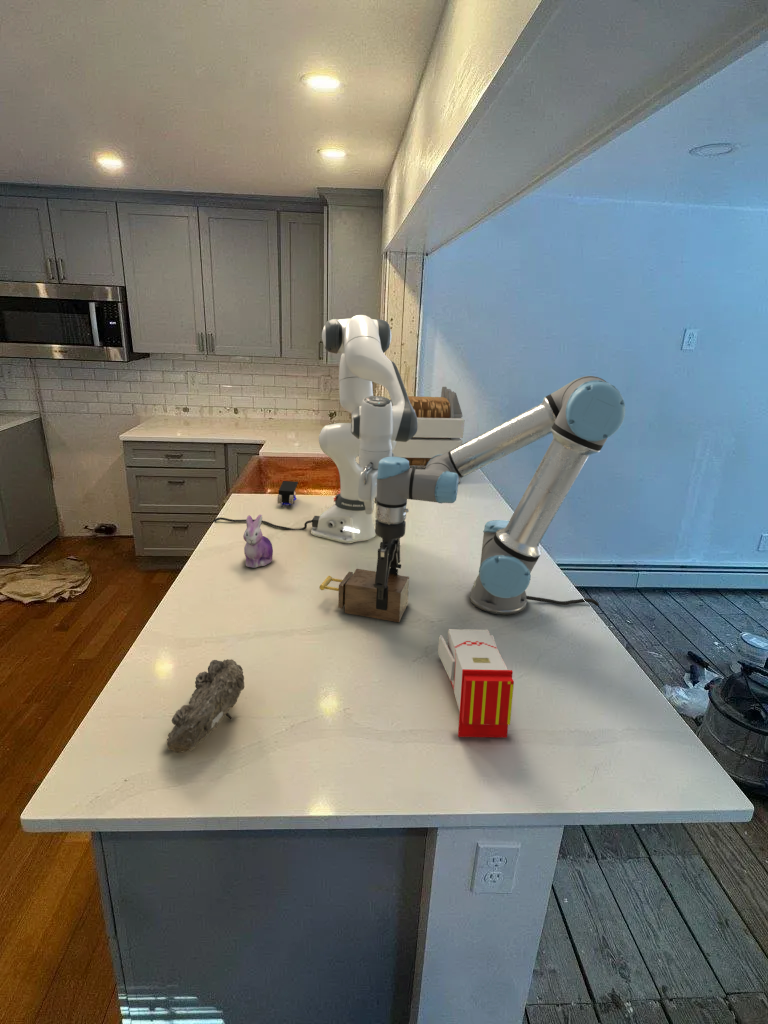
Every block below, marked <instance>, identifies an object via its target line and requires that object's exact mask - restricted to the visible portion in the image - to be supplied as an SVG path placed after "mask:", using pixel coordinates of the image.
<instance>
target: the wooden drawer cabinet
mask: <svg viewBox="0 0 768 1024" xmlns="http://www.w3.org/2000/svg"><path fill="white" fill-rule="evenodd" d="M375 578H376V570H375V571H374V570H368V569H361V568H356V569H355V570H354V571H353V575H352V576H351V577H350V579H349V580H348V581H347V583H346V584H345V606H344V614H349V615H354V616H359V617H360V616H361V617H366V618H371V619H378V620H382V621H389V622H395V623H400V622H401V619H402V618H403V615H404V613H405V611H406V608H407V607H408V602H409V601H408V600H409V588H410V587H409V585H410V576H406V575H402V574H401V575H400V574H398V575H394V574H389V576H388V582H387V586H388V600H387V610H380V609H376V596H377V588H375V587H374V586H373V585H374V584H375Z"/></svg>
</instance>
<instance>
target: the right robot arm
mask: <svg viewBox="0 0 768 1024" xmlns="http://www.w3.org/2000/svg"><path fill="white" fill-rule="evenodd" d="M625 416H626V403H625V400H624V397H623V395H622V393H621V391H619V389H618V388H617V387H616V386H615V385H613V384H612V383H609V382H608V381H606V380H605V379H603V378H602V377H599V376H595V375H584V376H581V377H579V378H576V379H573V380H572V381H570V382H568V383H567V384H565V385H564V386H562V387H560V388H559V389H557V390H555V391H553V392H551V393H550V394H548V395H546V396H544V397H543V400H542V402H541V403H540V404H538V405H536V406H534V407H532V408H530V409H528V410H526V411H524V412H522V413H520V414H518V415H516V416H514V417H513V418H511V419H508V420H507V421H505V422H502V423H501V424H499V425H497V426H495V427H492V428H491V429H488V430H487V431H485V432H483V433H481V434H480V435H478V436H476V437H473V438H472V439H469V440H468V441H466V442H464V443H462V445H460V446H458V447H456V448H454V449H452V450H451V451H449V452H446V453H444V454H439V455H436V456H434V457H432V458H431V459H430V460H429V462H428V463H427V465H426V466H425V467H424V468H423V469H422V468H413V467H410V466H409V461H408V460H407V459H405V458H400V457H385V458H383V459H381V460H380V461H379V465H378V475H377V500H376V504H375V523H374V528H375V533H376V535H375V536H377V537H379V538H380V539H382V540H381V541H380V544H379V548H377V561H376V570H375V572H376V578H375V584H374V585H373V586H374V587H375V588H377V596H376V609H380V610H387V600H388V586H387V582H388V576H389V574H394V575H399V569H401V568H402V564H401V538H403V537H404V536H405V534H406V524H407V522H406V519H407V513H409V508H407V504H408V500H413V501H419V502H420V501H421V502H429V503H438V504H454V503H455V502H456V501H457V497H458V490H459V483H458V481H459V479H460V480H461V479H462V478H463V477H465V476H467V475H469V474H472V473H473V472H476V471H477V470H480V469H482V468H483V467H485V466H488V465H490V464H491V463H494V462H496V461H497V460H500V459H502V458H504V457H506V456H508V455H510V454H513V453H514V452H516V451H519V450H520V449H523V448H524V447H526V446H529V445H530V444H532V443H534V442H536V441H539V440H541V439H543V438H545V437H547V436H549V435H551V434H552V441H551V442H550V444H549V446H548V447H547V450H546V451H545V453H544V455H543V457H542V459H541V460H540V463H539V464H538V466H537V468H536V470H535V472H534V474H533V475H532V478H531V479H530V481H529V483H528V485H527V487H526V489H525V491H524V493H523V495H522V497H521V498H520V500H519V502H518V504H517V506H516V508H515V509H514V512H513V513H512V515H511V518H510V519H509V520H505V519H495V520H494V519H493V520H489V521H487V522H485V523H484V527H483V531H482V532H483V536H482V544H481V545H482V546H481V554H480V564H479V569H478V575H477V577H476V578H475V580H474V581H473V584H472V586H471V589H470V592H469V593H470V594H469V601H470V602H471V603H472V605H473V606H474V607H476V608H477V609H479V610H481V611H484V612H486V613H491V614H494V615H501V616H503V615H504V616H509V615H515V614H519V613H521V612H523V611H524V610H525V609H526V607H527V601H535V602H542V603H549V604H554V605H557V606H567V605H573V604H574V605H575V604H581V603H582V604H583V603H591V604H594V606H597V607H598V606H599V607H600V603H599V602H598V601H597V600H595V599H594V598H589V597H587V598H586V597H585V598H578V599H570V600H564V601H562V600H555V599H551V598H546V597H538V596H531V595H527V592H526V590H527V589H528V587H529V585H530V582H531V577H532V576H531V572H532V571H533V569H534V567H535V566H536V564H537V562H538V560H539V559H540V557H541V555H542V551H541V548H540V543H541V541H542V540H543V538H544V536H545V534H546V533H547V531H548V529H549V527H550V526H551V524H552V523H553V520H554V518H555V517H556V515H557V514H558V511H559V510H560V508H561V506H562V504H563V503H564V501H565V499H566V497H567V496H568V494H569V493H570V490H571V489H572V487H573V485H574V483H575V481H576V479H577V478H578V476H579V474H580V473H581V471H582V469H583V467H584V465H585V464H586V463H587V461H588V459H589V457H590V456H591V455H594V454H597V453H600V452H601V450H602V448H603V446H604V445H605V443H606V442H607V440H608V438H610V437H612V436H613V435H614V434H616V432H618V430H619V429H620V428H621V426H622V425H623V423H624V420H625ZM583 599H584V600H585V601H586V602H585V601H584V600H583Z"/></svg>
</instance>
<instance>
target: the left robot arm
mask: <svg viewBox="0 0 768 1024" xmlns="http://www.w3.org/2000/svg"><path fill="white" fill-rule="evenodd" d="M321 340H322V344H323V346H324V349H325V350H326V351H327V352H328V353H331V354H335V355H336V354H341V355H340V360H339V366H338V389H339V390H338V391H339V405H340V406H341V408H342V409H343V410H344V411H346V412H347V413H349V414H350V415H351V416H350V418H351V421H350V422H336V423H330V424H326V425H323V427H322V429H321V430H320V432H319V435H318V445H319V447H320V450H321V451H322V452H323V454H325V455H326V456H328V457H329V458H330V459H331V460H332V462H333V463H334V464H335V466H336V467H337V470H338V474H339V483H340V484H339V485H340V488H339V489H340V490H339V491H338V492H337V494H336V495H335V496H334V497H333V502H334V504H333V505H331V506H329V507H328V508H326V509H325V510H323V512H321V514H320V515H314V516H313V517H312V519H310V520H307V521H305V522H304V526H303V527H301V528H291V527H287V526H284V525H283V526H282V525H278V524H277V525H276V524H274V523H271V522H268V521H266V520H263V519H262V522H261V524H265V525H267V526H270V527H273V528H276V529H282V530H286V531H304V530H306V529H307V528H308V524H311V527H312V528H311V530H310V533H311V536H315V537H319V538H323V539H326V540H330V541H336V542H339V543H343V544H352V543H357V542H365V541H368V540H372V539H373V538H375V537H376V536H377V535H376V533H375V523H374V513H373V512H374V509H375V505H376V500H377V475H378V465H379V461H380V460H381V459H383V458H385V457H394V453H393V452H392V451H393V450H394V448H395V446H396V442H397V441H399V442H407V441H408V440H410V439H411V438H412V437H413V436H414V435H415V434H416V432H417V428H418V421H417V416H416V413H415V411H414V409H413V407H412V405H411V403H410V401H409V398H408V396H409V395H408V393H407V390H406V388H405V387H406V386H405V385H404V382H403V378H402V376H401V374H400V371H399V369H398V366H397V365H396V362H394V361H393V360H391V359H389V357H387V355H386V354H385V353H386V352H387V351H388V350H389V349H390V348H389V347H390V345H391V342H392V330H391V327H390V324H389V323H388V321H387V320H384V319H380V318H376V319H373V318H371V317H370V316H368V315H365V314H357V315H354V316H352V317H350V318H340V319H338V318H332V319H329V320H326V322H325V323H324V326H323V329H322V331H321ZM373 383H375V384H377V385H380V386H381V387H384V388H385V389H386V390H387V392H388V394H389V397H390V398H388V397H384V396H381V395H374V390H373ZM390 400H391V401H392V403H391V401H390ZM392 404H393V406H392ZM357 458H358V462H357ZM246 520H247V519H231V518H227V517H216V518H214V519H213V520H212V523H215V522H217V521H226V522H229V523H230V522H231V523H246V522H247V521H246ZM253 521H255V519H253Z"/></svg>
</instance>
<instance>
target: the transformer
mask: <svg viewBox="0 0 768 1024" xmlns="http://www.w3.org/2000/svg"><path fill="white" fill-rule="evenodd" d="M440 393H441V394H440V396H415V395H414V396H413V395H412V396H411V395H408V398H409V401H410V403H411V405H412V407H413V409H414V411H415V413H416V416H417V421H418V428H417V432H416V434H415V435H414V436H413V437H412V438H411V439H410V440H408V441H407V442H399V441H397V442H396V446H395V448H394V450H393V451H392V452H393V453H394V457H400V458H405V459H407V460H408V461H409V466H411V467H412V466H413V467H415V466H416V467H417V466H418V467H426V465H427V463H428V462H429V460H430V459H431V458H432V457H434V456H436V455H439V454H444V453H446V452H449V451H451V450H452V449H454V448H456V447H458V446H460V445H462V444H464V443H463V442H464V441H463V440H462V439H463V438H464V431H465V430H464V429H465V419H464V418H463V411H462V408H461V405H460V402H459V398H458V395H457V392H455V391H453V390H452V389H451V388H447V386H442V387H441V392H440ZM389 400H390V401H391V399H389ZM391 403H392V401H391ZM392 406H393V404H392ZM459 483H461V478H460V479H459V481H458V484H459Z"/></svg>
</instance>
